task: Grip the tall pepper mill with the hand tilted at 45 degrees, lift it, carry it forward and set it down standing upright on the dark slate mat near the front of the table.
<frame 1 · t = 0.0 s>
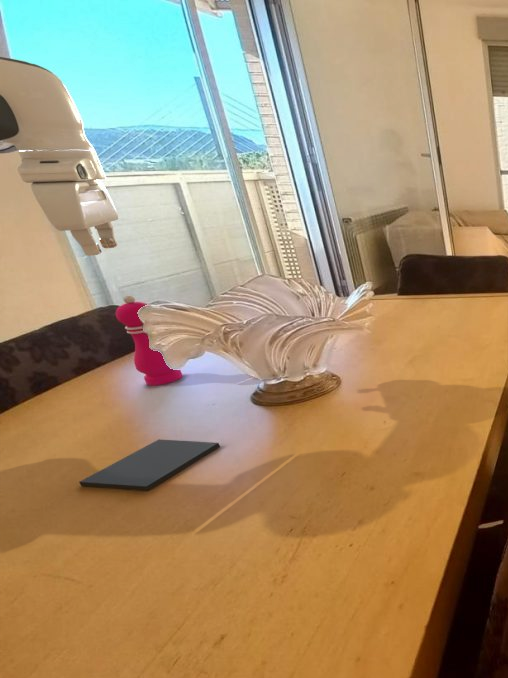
hand: (102, 251, 86), 31 cm above the table, tool pointing down, fingers open, 8 cm apart
pepper mill: (165, 380, 109), on the table
slate mat: (154, 465, 77), on the table
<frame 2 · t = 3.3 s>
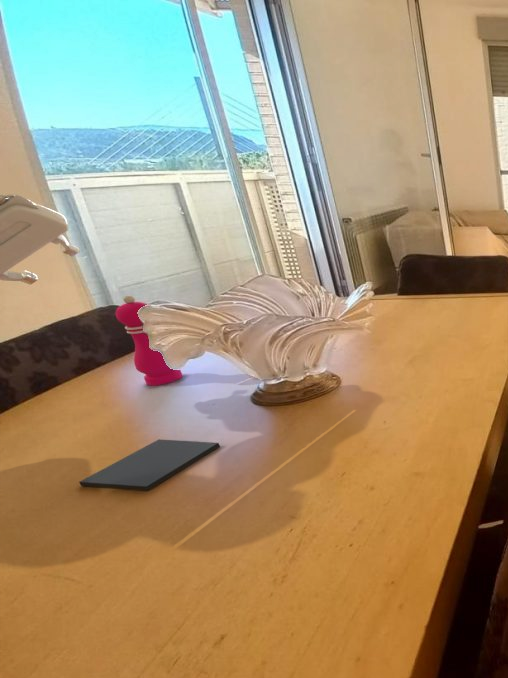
hand: (55, 266, 94), 27 cm above the table, tool tilted 45°, fingers open, 8 cm apart
nothing on the table moved.
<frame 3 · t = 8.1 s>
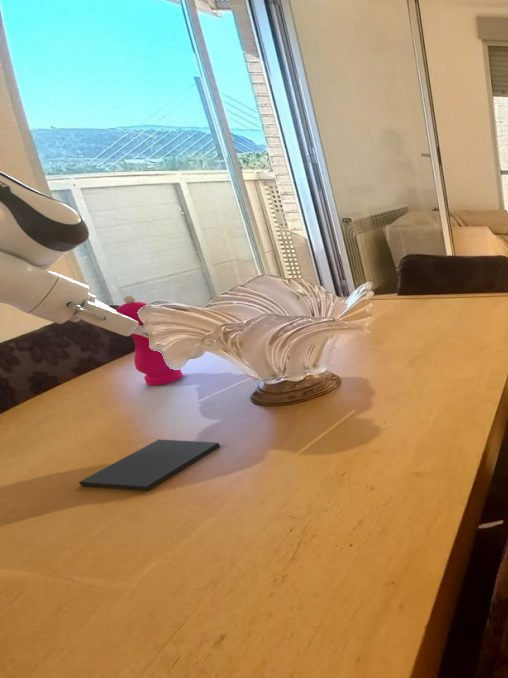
hand: (148, 332, 105), 11 cm above the table, tool tilted 45°, fingers closed on pepper mill, 5 cm apart
pepper mill: (165, 380, 109), on the table, touching gripper
when the fingers open (12 cm above the table, at t = 20.8 s): pepper mill stays where it is, resting on slate mat.
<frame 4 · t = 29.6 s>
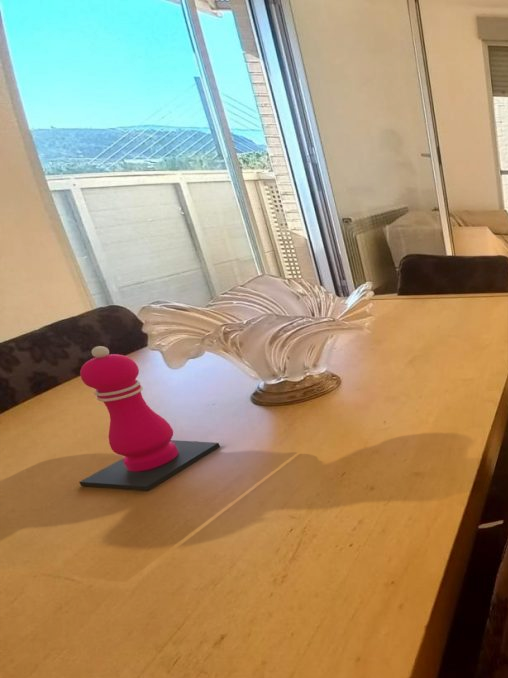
pepper mill: (154, 461, 77), point 1 cm above the table, touching slate mat
at the end: pepper mill inside the target area on the slate mat (0.1 cm from its centre), point 0.6 cm above the slate mat's base; pepper mill tilted 0°; the gripper is holding nothing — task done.
